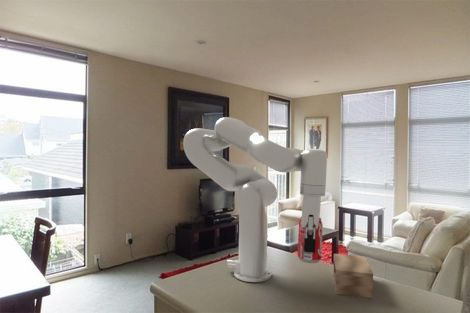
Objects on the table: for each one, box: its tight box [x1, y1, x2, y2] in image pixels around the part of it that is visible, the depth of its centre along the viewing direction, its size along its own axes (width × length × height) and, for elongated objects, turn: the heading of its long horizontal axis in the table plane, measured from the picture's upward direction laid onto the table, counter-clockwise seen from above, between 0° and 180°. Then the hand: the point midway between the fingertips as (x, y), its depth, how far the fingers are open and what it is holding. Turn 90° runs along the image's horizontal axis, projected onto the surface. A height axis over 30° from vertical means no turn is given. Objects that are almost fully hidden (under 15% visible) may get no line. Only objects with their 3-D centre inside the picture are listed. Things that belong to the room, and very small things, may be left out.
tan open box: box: [332, 253, 374, 299], centre depth 98 cm, size 10×16×7 cm, turn 165°
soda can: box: [297, 216, 324, 264], centre depth 95 cm, size 7×7×13 cm
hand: (309, 247), depth 95 cm, fingers closed on soda can, 6 cm apart
